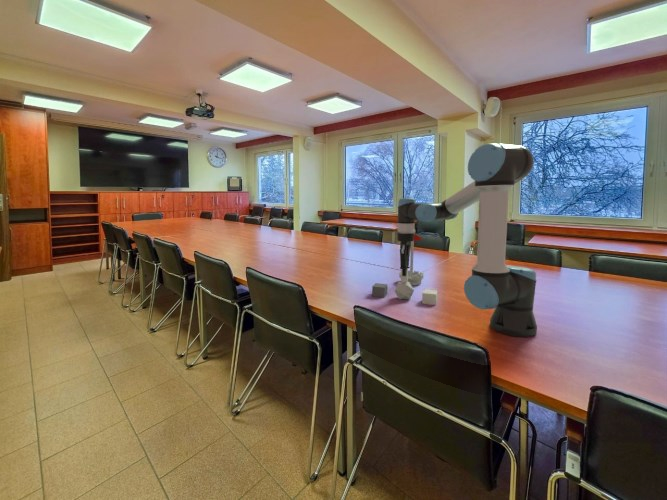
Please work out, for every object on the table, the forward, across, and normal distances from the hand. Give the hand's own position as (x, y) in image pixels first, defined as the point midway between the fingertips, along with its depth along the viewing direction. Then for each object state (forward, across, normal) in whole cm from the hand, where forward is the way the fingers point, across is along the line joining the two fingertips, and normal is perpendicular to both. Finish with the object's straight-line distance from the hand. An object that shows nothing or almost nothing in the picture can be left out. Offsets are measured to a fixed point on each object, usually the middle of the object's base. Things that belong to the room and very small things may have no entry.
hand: (404, 282), depth 156 cm
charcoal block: (+8, -1, -12) cm, 15 cm away
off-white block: (+8, +1, +12) cm, 14 cm away
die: (+8, 0, 0) cm, 8 cm away
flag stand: (+8, -29, -2) cm, 30 cm away
